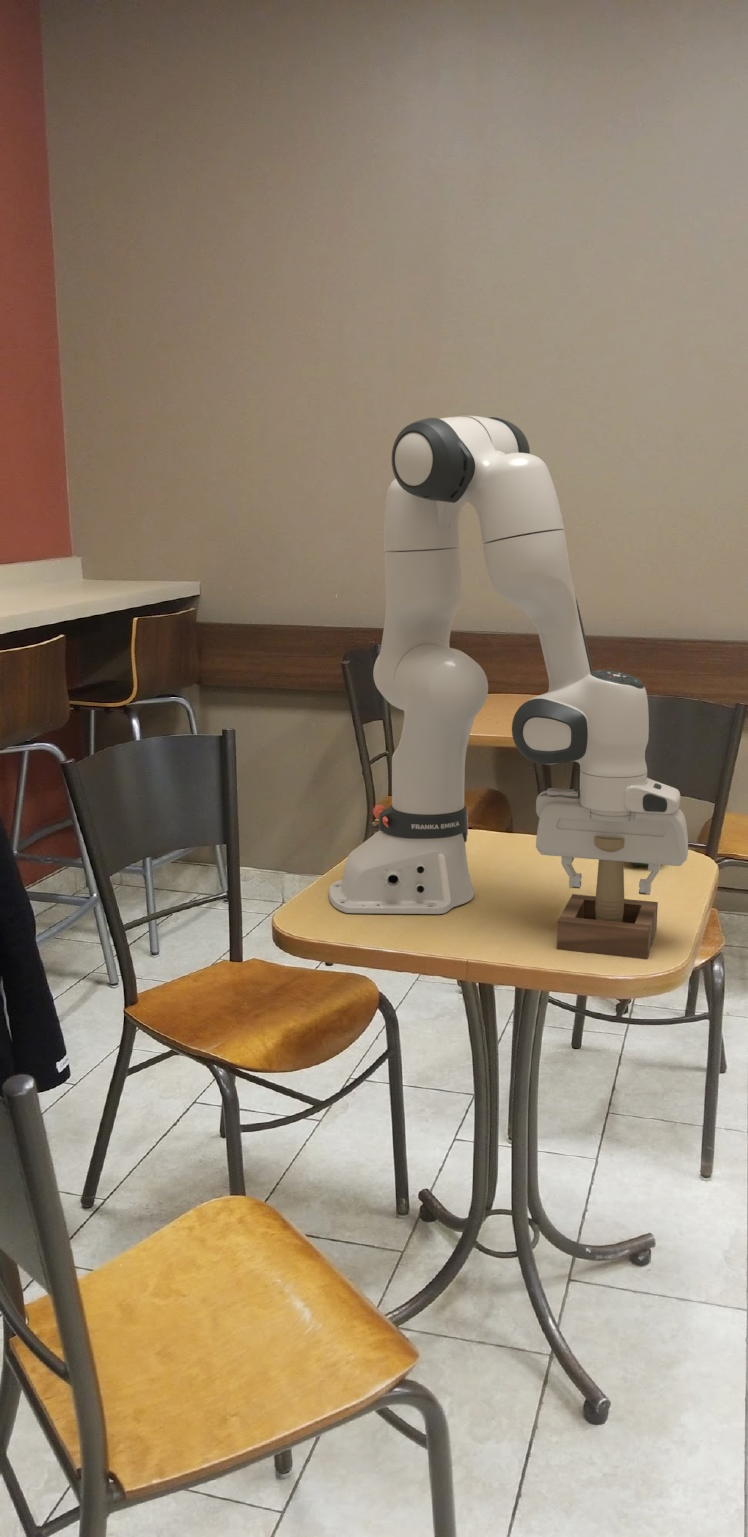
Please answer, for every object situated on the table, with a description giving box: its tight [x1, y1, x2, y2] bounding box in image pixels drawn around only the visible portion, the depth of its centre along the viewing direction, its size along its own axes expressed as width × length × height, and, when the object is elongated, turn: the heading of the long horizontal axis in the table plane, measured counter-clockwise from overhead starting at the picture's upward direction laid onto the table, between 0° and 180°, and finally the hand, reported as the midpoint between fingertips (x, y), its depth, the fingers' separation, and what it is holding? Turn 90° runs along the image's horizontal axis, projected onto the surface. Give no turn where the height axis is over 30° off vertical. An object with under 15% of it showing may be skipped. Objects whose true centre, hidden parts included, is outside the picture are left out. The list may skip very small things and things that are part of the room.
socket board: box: [556, 893, 659, 960], centre depth 159 cm, size 12×12×4 cm
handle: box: [594, 836, 625, 922], centre depth 158 cm, size 5×6×15 cm
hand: (609, 890), depth 158 cm, fingers open, 8 cm apart
